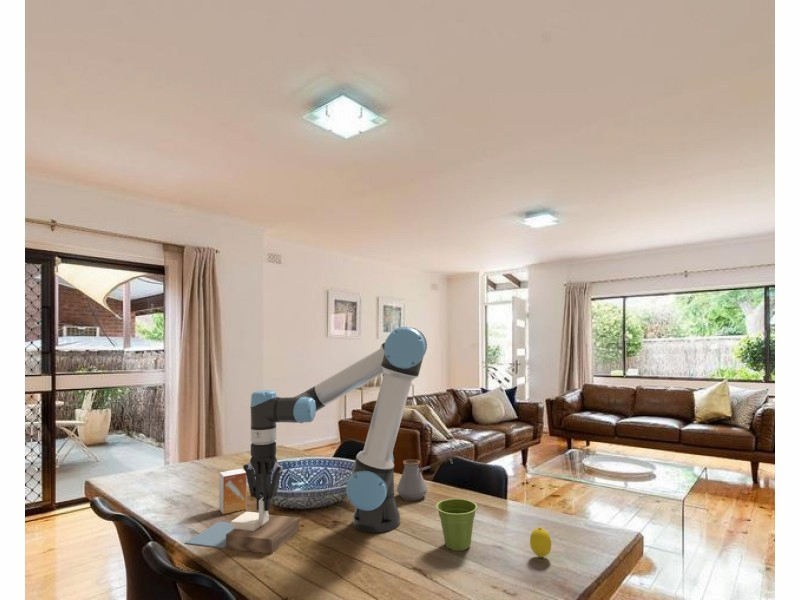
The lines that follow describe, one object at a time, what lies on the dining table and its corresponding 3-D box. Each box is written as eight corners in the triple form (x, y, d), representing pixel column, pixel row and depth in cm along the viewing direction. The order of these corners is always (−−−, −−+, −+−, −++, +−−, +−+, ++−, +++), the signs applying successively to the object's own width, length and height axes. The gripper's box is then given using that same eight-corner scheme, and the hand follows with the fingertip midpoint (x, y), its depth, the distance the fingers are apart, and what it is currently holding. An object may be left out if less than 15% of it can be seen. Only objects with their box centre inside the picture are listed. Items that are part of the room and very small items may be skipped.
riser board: (299, 530, 150) (298, 517, 150) (271, 554, 134) (271, 539, 134) (257, 526, 154) (257, 513, 154) (226, 548, 138) (226, 534, 139)
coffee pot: (393, 501, 174) (392, 459, 175) (401, 490, 185) (401, 451, 186) (450, 505, 168) (449, 462, 169) (456, 494, 179) (455, 454, 180)
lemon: (535, 551, 132) (534, 521, 133) (555, 556, 129) (553, 526, 129) (527, 558, 128) (525, 528, 128) (547, 565, 124) (545, 533, 125)
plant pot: (430, 541, 140) (429, 502, 141) (466, 534, 144) (464, 496, 145) (448, 558, 129) (447, 516, 130) (486, 550, 133) (485, 509, 134)
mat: (255, 526, 154) (255, 525, 154) (223, 548, 139) (223, 547, 139) (219, 522, 158) (219, 521, 158) (184, 543, 142) (184, 542, 142)
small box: (223, 515, 164) (223, 476, 165) (218, 509, 169) (218, 472, 170) (246, 509, 169) (246, 472, 169) (242, 504, 174) (241, 468, 175)
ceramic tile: (268, 520, 148) (268, 513, 148) (254, 530, 141) (254, 523, 141) (246, 518, 150) (246, 511, 151) (230, 528, 143) (230, 521, 143)
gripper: (237, 443, 144) (237, 523, 142) (275, 445, 140) (276, 528, 139) (251, 438, 151) (251, 514, 150) (288, 440, 147) (288, 518, 146)
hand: (263, 520), depth 144 cm, fingers closed
